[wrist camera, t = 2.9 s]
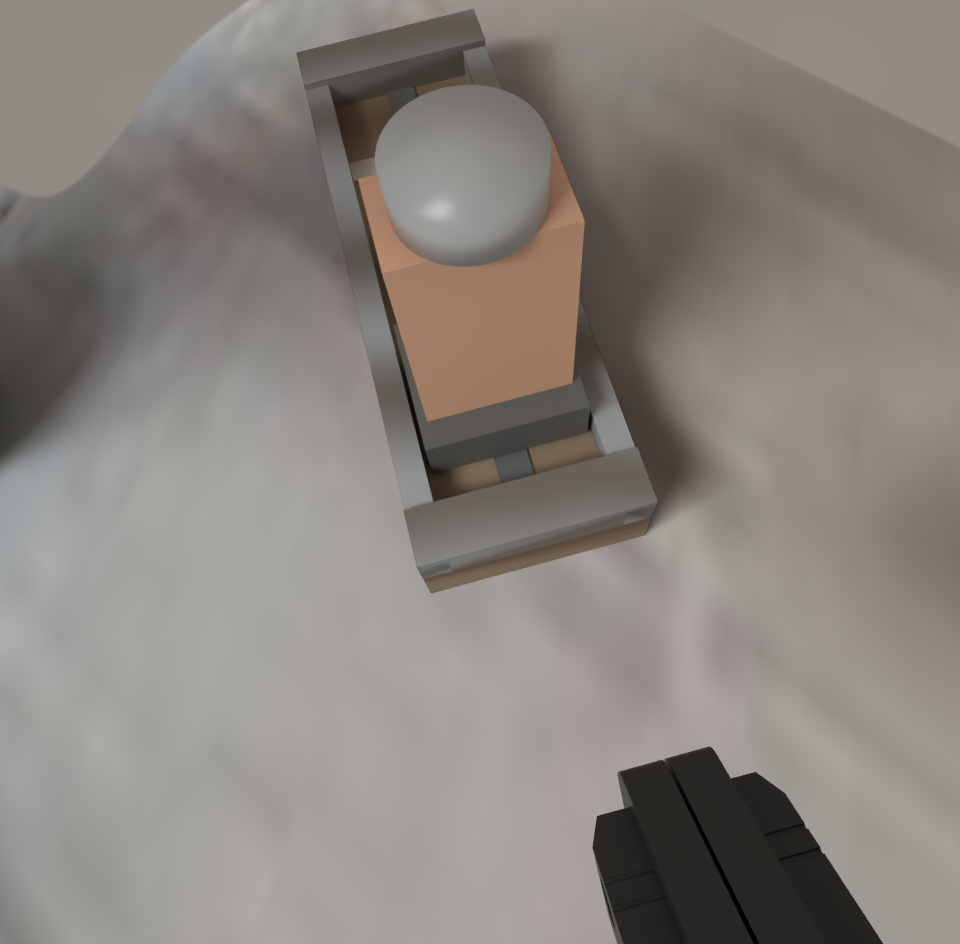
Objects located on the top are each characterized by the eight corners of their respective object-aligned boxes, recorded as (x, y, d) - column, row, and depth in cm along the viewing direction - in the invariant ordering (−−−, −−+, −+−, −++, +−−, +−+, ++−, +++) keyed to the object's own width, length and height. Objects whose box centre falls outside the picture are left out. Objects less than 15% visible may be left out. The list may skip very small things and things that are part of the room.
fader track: (644, 535, 28) (658, 501, 25) (431, 593, 28) (416, 566, 25) (479, 76, 38) (473, 8, 34) (317, 116, 37) (296, 53, 34)
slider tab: (587, 432, 28) (616, 202, 17) (433, 473, 27) (363, 267, 17) (546, 317, 29) (549, 45, 19) (402, 355, 29) (323, 102, 19)
